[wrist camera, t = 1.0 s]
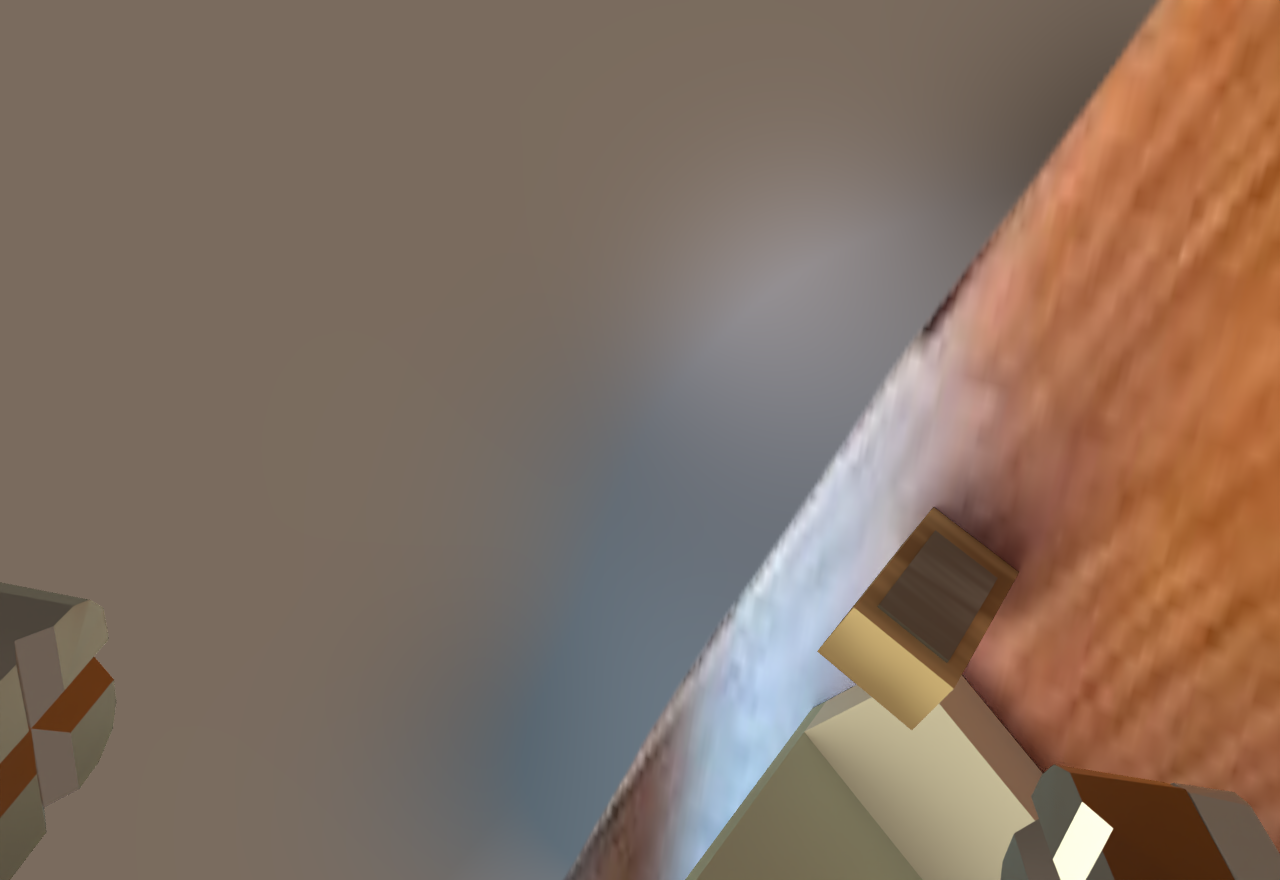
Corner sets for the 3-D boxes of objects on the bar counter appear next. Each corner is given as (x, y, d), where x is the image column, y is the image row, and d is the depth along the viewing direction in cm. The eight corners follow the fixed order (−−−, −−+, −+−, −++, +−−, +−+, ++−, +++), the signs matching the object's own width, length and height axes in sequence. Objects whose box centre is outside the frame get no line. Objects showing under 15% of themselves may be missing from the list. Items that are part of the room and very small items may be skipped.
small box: (935, 505, 47) (855, 604, 39) (1021, 570, 46) (955, 686, 38) (899, 548, 49) (817, 651, 41) (981, 611, 48) (911, 730, 40)
